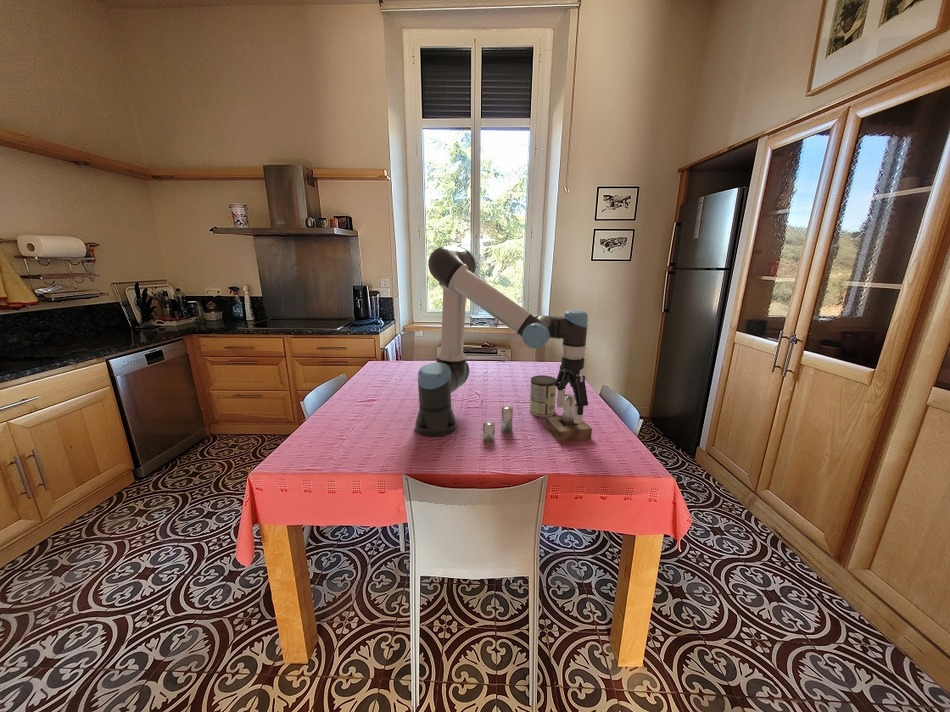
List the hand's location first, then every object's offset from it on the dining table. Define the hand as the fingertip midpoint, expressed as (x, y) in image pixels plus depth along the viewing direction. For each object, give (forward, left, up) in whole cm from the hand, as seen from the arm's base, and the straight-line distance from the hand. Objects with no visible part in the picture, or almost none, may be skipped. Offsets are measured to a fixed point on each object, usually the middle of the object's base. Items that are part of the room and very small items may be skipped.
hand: (568, 414), depth 125 cm
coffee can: (-2, +19, -7) cm, 20 cm away
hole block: (0, 0, -7) cm, 7 cm away
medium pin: (-21, +6, -7) cm, 23 cm away
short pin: (-29, +1, -7) cm, 30 cm away
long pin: (0, 0, -7) cm, 7 cm away
